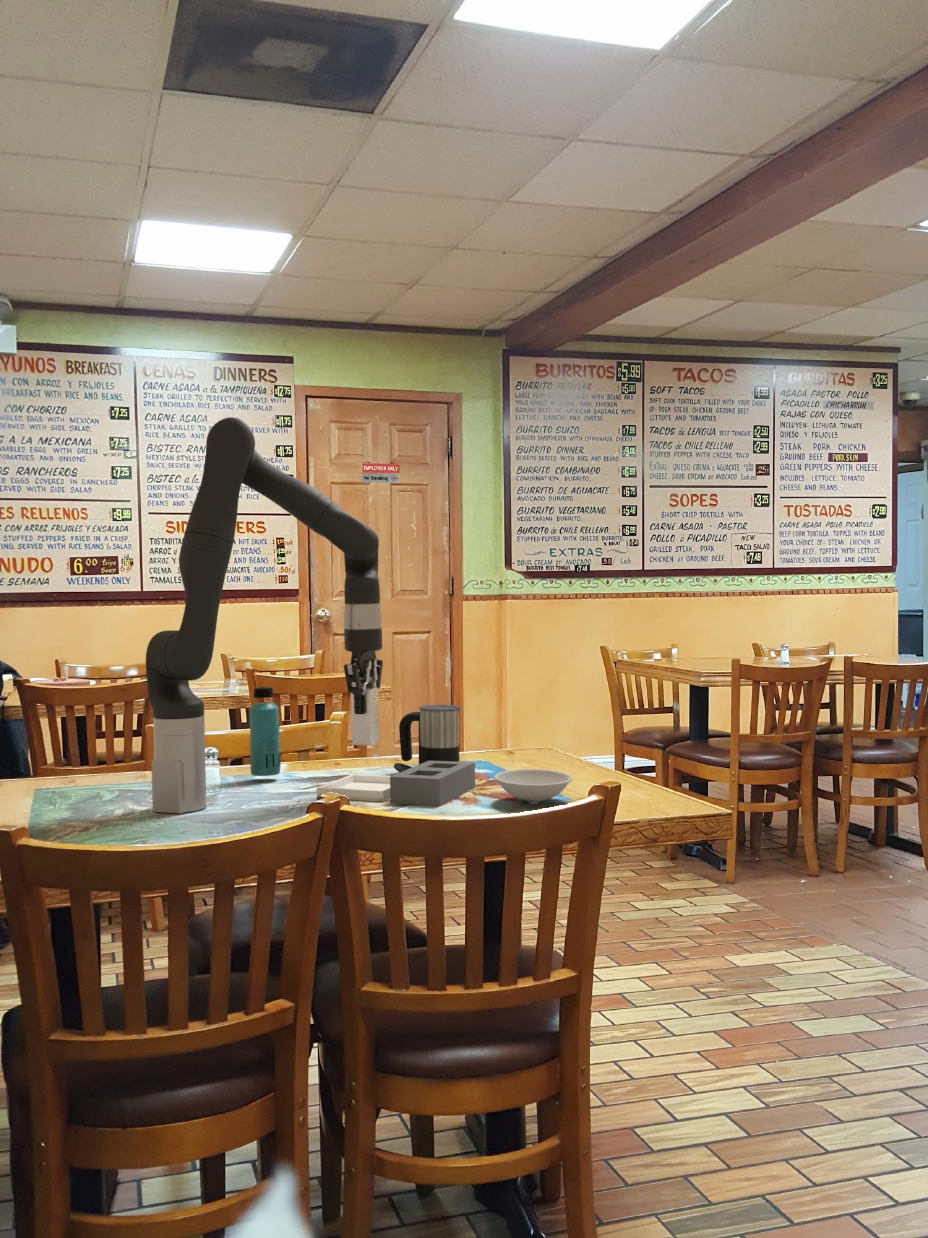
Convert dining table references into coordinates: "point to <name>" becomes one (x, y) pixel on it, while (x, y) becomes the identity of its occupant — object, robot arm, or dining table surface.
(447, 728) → the milk frother
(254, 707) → the beverage bottle
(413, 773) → the slotted block
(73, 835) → the dining table surface
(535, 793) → the dish
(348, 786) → the tray
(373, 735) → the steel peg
